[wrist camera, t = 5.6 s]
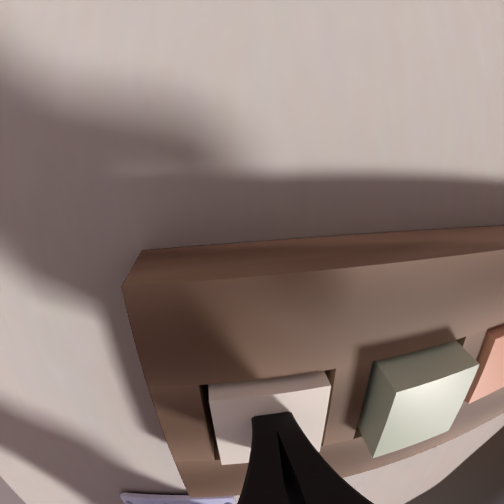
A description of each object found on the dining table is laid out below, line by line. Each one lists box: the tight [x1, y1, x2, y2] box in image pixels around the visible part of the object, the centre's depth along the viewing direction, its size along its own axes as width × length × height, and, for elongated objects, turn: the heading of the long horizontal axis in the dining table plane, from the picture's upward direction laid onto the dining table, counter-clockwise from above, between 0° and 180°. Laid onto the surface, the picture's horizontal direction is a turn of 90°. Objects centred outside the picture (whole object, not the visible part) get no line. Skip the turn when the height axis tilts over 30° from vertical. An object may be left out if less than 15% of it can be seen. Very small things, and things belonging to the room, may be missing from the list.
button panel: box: [122, 225, 504, 498], centre depth 13 cm, size 12×20×3 cm, turn 92°
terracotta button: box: [464, 324, 504, 404], centre depth 13 cm, size 4×4×3 cm
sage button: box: [357, 340, 480, 458], centre depth 11 cm, size 4×4×3 cm
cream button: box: [208, 371, 331, 465], centre depth 12 cm, size 4×4×3 cm
